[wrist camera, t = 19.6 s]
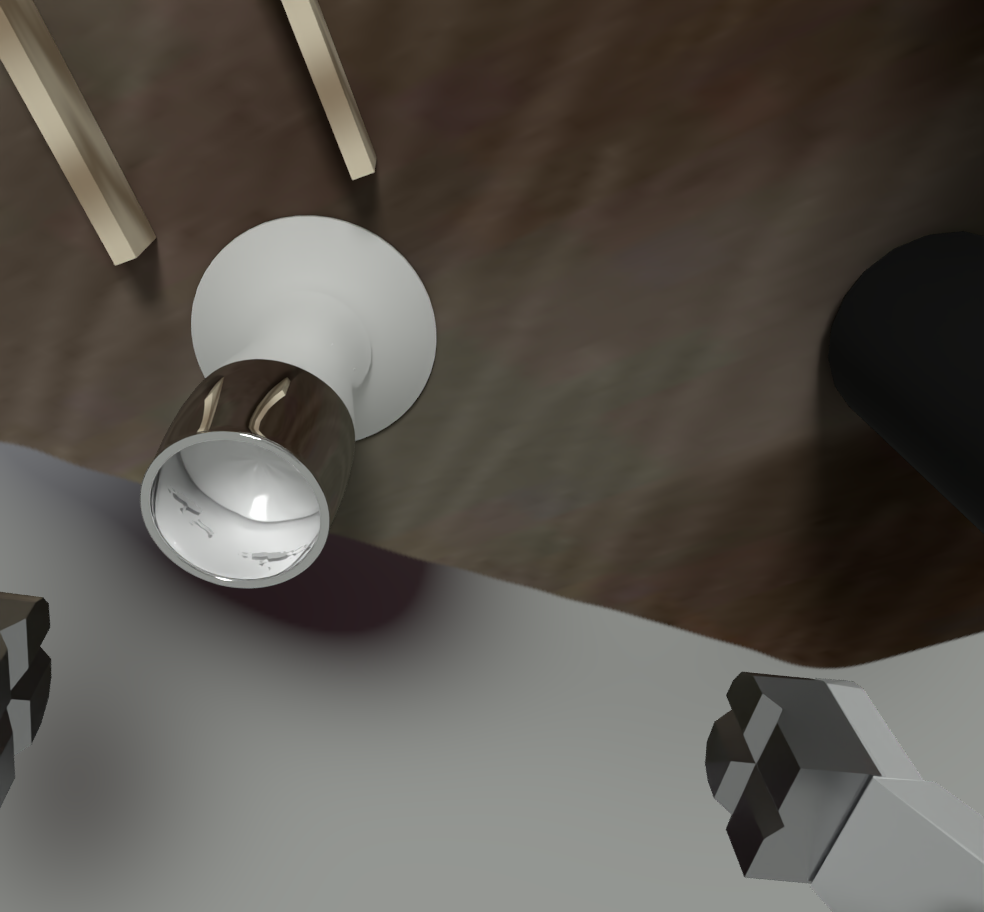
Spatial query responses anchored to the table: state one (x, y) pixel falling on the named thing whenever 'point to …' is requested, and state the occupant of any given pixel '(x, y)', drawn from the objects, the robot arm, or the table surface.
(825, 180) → the table surface
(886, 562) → the table surface
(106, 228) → the maple lane
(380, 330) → the grey coaster
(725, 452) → the table surface
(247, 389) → the heart stem goblet
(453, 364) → the table surface
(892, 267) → the coffee jar
